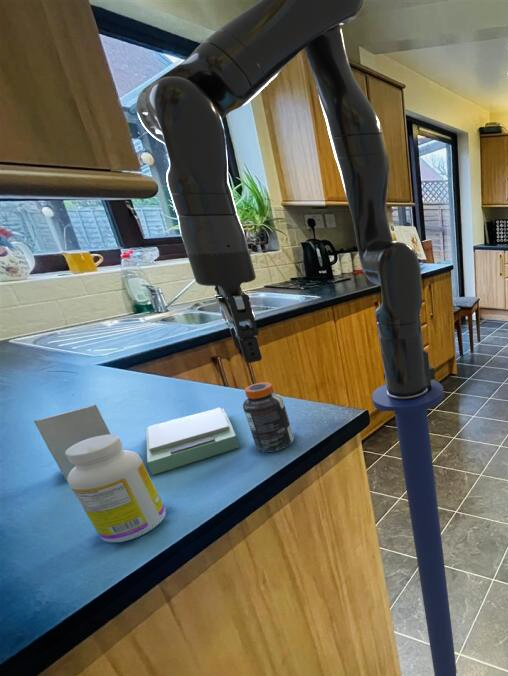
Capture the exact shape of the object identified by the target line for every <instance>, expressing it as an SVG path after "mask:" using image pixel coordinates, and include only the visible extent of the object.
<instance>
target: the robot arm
mask: <svg viewBox="0 0 508 676" xmlns="http://www.w3.org/2000/svg"><path fill="white" fill-rule="evenodd" d="M364 3H365V0H259V1H257V2H256V3H255V4H254V5H252V6H250V7H248V8H247V9H246V10H244V11H242V12H241V13H239V14H237V15H236V16H235V17H234V18H232V19H231V20H230V19H229V21H228V22H226V23H225V24H223V25H222V26H221V27H220V28H219V29H217V30H216V31H214V32H213V33H212V34H211V35H209V37H207V38H206V39H205V40H203V41H202V42H201V43H200V44H199V45H198V46H197V47H196V48H195V49H194V50H193V51H192V53H191V54H190V55H189V56H188V57H187V58H186V59H185V60H183V61H182V62H181V63H179V64H177V65H176V66H175V67H173V68H172V69H170V70H169V71H167V72H165V73H164V74H162V75H161V76H160V77H159V78H157V79H155V80H153V82H151V83H149V84H148V85H147V86H145V88H143V89H142V90H141V92H140V93H139V94H138V96H137V100H136V111H137V116H138V118H139V120H140V122H141V125H142V126H143V127H144V129H145V130H146V131H147V132H148V133H149V134H150V135H151V136H152V137H153V138H154V139H156V140H157V141H159V142H160V143H163V144H164V145H165V150H166V153H167V157H168V162H169V167H168V169H167V171H166V183H167V188H168V191H169V194H170V197H171V200H172V204H173V208H174V211H175V213H176V217H177V220H178V228H179V232H180V233H179V234H180V237H181V239H182V243H183V246H184V249H185V252H186V255H187V258H188V261H189V265H190V267H191V271H192V274H193V277H194V280H195V282H196V283H197V284H198V285H200V286H205V287H214V292H216V294H215V295H214V298H215V301H216V305H217V306H218V307H219V311H220V314H221V317H222V319H223V320H224V321H225V325H226V326H227V327H228V328H229V331H230V334H231V339H232V342H233V344H234V347H235V349H236V350H238V351H240V350H241V353H242V356H243V359H244V361H245V362H246V363H247V364H250V363H255V362H260V361H261V360H262V359H263V356H262V353H261V349H260V346H259V343H258V338H257V337H258V336H259V332H260V331H259V329H258V327H257V323H256V317H255V314H254V312H253V309H252V306H251V305H252V304H251V303H252V302H251V301H252V300H251V298H250V296H249V294H247V293H246V292H245V291H243V290H242V287H241V285H242V284H243V283H245V284H247V283H250V282H253V281H255V280H256V279H257V278H256V277H257V276H256V272H255V268H254V265H253V260H252V256H251V253H250V248H249V245H248V241H247V237H246V233H245V231H244V227H243V224H242V223H241V220H240V217H239V215H238V211H237V206H236V203H235V199H234V195H233V192H232V188H231V185H230V181H229V165H228V164H229V163H228V150H227V141H226V133H225V128H224V124H223V119H224V118H225V117H226V116H227V115H228V114H229V113H231V112H233V111H235V110H237V109H239V108H241V107H243V106H245V105H246V104H248V103H249V102H250V101H251V100H253V99H254V98H255V97H256V96H257V95H258V94H259V93H260V92H261V91H262V90H263V89H265V87H267V86H268V85H269V83H271V81H273V80H274V79H275V78H276V77H277V76H278V75H279V74H280V73H281V71H282V70H284V69H285V67H286V66H288V65H289V64H290V62H291V61H292V60H294V59H295V57H297V56H298V55H299V54H300V52H302V51H303V50H304V53H305V55H306V57H307V61H308V64H309V67H310V70H311V74H312V77H313V80H314V84H315V87H316V92H317V95H318V99H319V102H320V105H321V109H322V112H323V116H324V119H325V123H326V127H327V133H328V136H329V139H330V144H331V147H332V151H333V155H334V159H335V162H336V165H337V168H338V171H339V174H340V178H341V182H342V185H343V189H344V194H345V197H346V201H347V205H348V207H349V211H350V214H351V219H352V223H353V228H354V235H355V241H356V247H357V251H358V259H359V263H360V267H361V270H362V272H363V274H364V276H365V277H366V279H367V280H368V281H369V282H370V283H372V284H374V285H376V286H379V287H380V289H381V290H380V291H381V304H380V305H378V306H376V308H375V309H374V316H375V321H376V327H377V328H376V329H377V335H378V341H379V346H380V354H381V359H382V367H383V372H384V373H383V380H384V381H385V384H386V387H387V395H388V397H390V398H392V399H395V400H411V399H416V398H419V397H421V396H423V395H425V394H426V393H427V392H428V391H431V390H432V386H431V380H435V379H436V373H435V367H433V366H431V365H430V359H429V358H430V357H429V351H427V350H425V346H424V337H423V330H422V329H423V328H422V321H421V310H422V306H423V285H422V271H421V264H420V260H419V257H418V255H417V253H416V251H415V250H414V249H413V247H412V246H410V245H409V244H407V243H404V242H401V241H394V239H393V236H392V232H391V227H390V224H389V219H388V213H387V200H388V192H389V185H390V184H389V183H390V168H391V167H390V159H389V154H388V149H387V145H386V140H385V139H386V138H385V136H384V130H383V127H382V123H381V122H380V121H381V120H380V118H379V116H378V114H377V113H376V111H375V109H374V107H373V105H372V104H371V102H370V100H369V99H368V97H367V96H366V94H365V93H364V91H363V89H362V88H361V86H360V84H359V83H358V81H357V79H356V77H355V75H354V73H353V71H352V68H351V65H350V61H349V57H348V54H347V49H346V45H345V40H344V36H343V28H342V26H344V25H347V24H349V23H350V22H352V21H354V19H356V18H357V17H358V16H359V15H360V12H361V10H362V9H363V7H364ZM247 326H248V328H247Z"/></svg>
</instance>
